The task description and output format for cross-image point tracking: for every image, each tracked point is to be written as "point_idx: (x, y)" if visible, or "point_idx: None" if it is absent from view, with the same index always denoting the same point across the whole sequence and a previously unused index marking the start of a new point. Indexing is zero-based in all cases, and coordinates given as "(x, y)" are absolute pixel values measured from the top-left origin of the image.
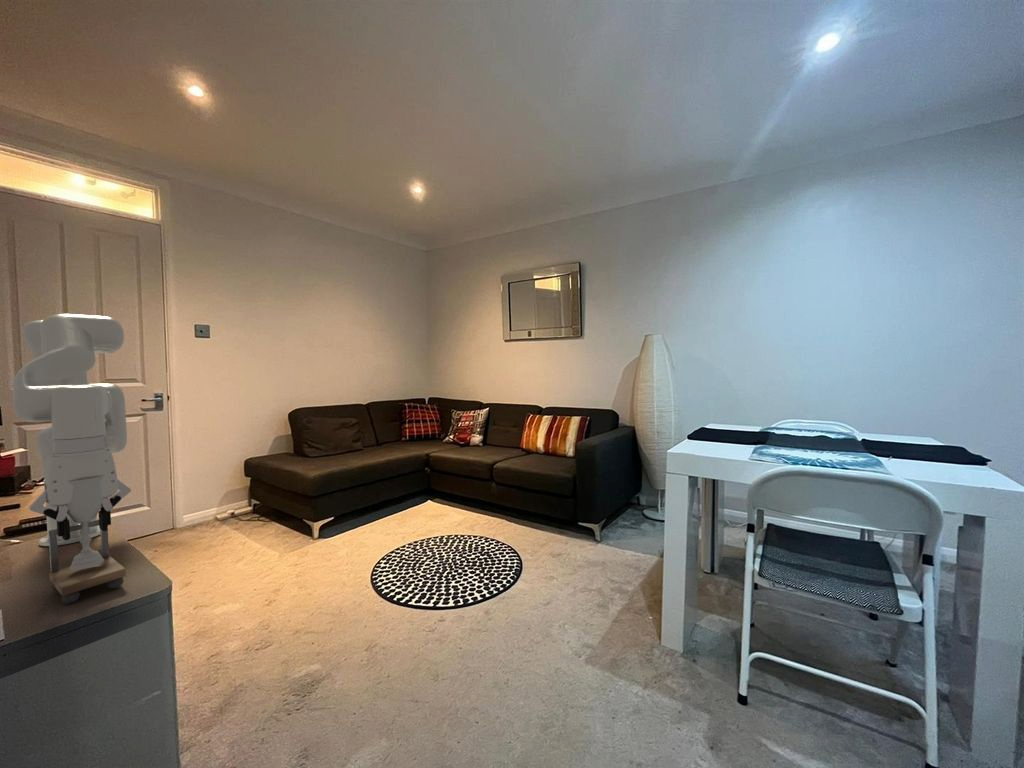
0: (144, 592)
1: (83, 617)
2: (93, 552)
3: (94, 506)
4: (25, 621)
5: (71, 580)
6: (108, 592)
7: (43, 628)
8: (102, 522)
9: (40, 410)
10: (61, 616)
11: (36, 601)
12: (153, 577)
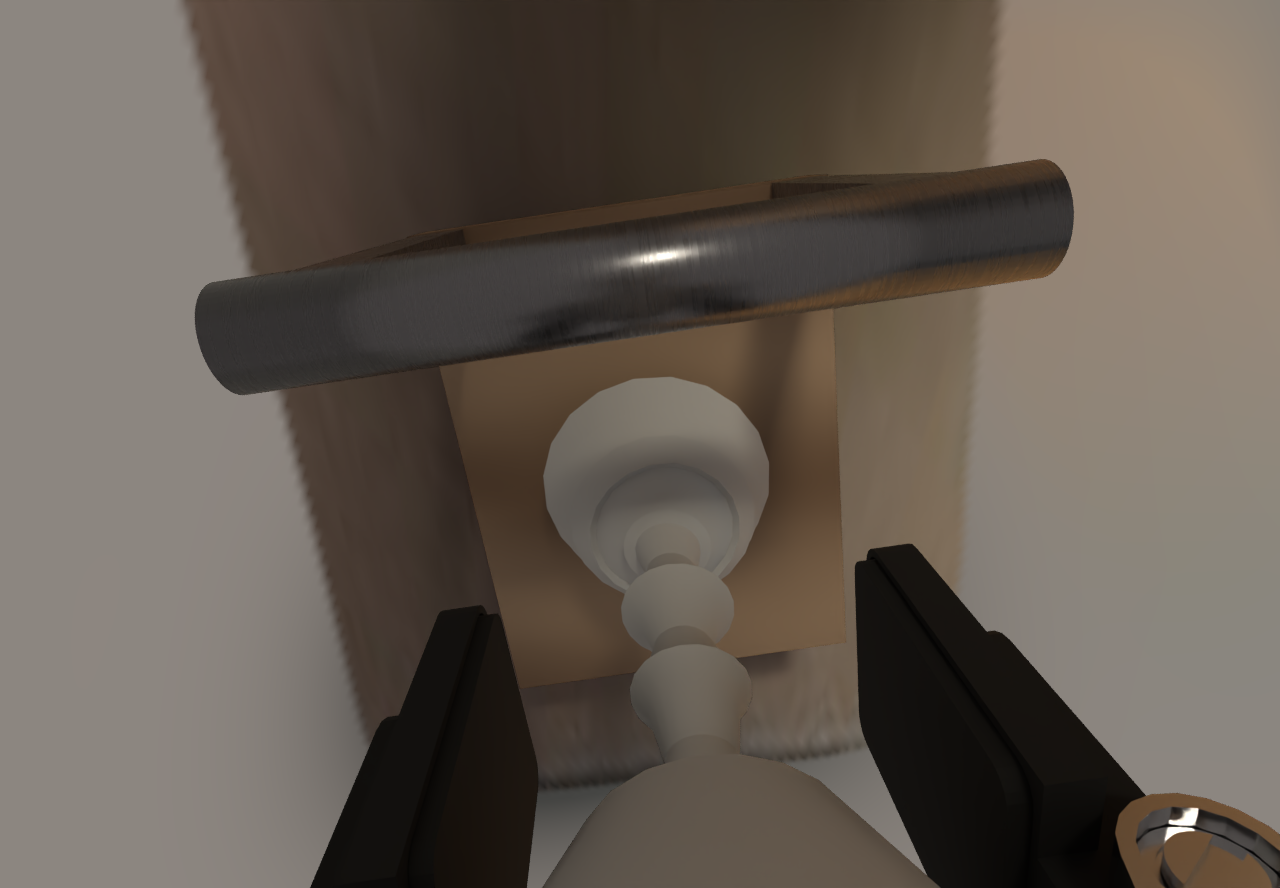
0: (854, 701)
1: (613, 773)
2: (714, 565)
3: None
4: (396, 626)
5: (564, 604)
6: None
7: None
8: (909, 833)
9: None
10: (534, 693)
11: None
12: (946, 525)
